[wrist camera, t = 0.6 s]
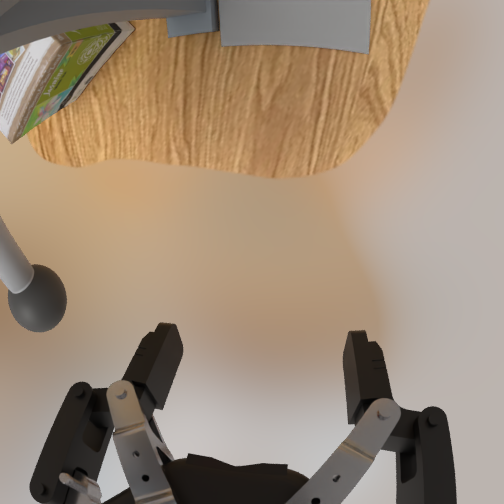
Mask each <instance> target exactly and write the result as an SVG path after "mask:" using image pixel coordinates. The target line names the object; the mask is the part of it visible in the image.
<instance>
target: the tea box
mask: <svg viewBox="0 0 504 504" xmlns="http://www.w3.org/2000/svg"><path fill="white" fill-rule="evenodd" d="M134 30H135V28H134V27H133V26H132V25H131V24H130V23H129V22H128V21H123V22H116V23H109V24H103V25H97V26H92V27H87V28H82V29H77V30H73V31H69V32H65V33H61V34H58V35H54V36H50V37H47V38H44V39H41V40H38V41H34V42H32V43H29V44H26V45H23V46H20V47H18V48H15V49H12V50H10V51H8V52H5V53H3V54H0V131H1V132H2V133H3V134H4V135H5V137H6V138H7V139H8V140H9V141H10V142H11V144H13V143H14V142H15V141H17V140H18V139H19V138H21V137H22V136H24V135H25V134H26V133H27V132H29V131H30V130H31V129H33V128H34V127H35V126H37V125H38V124H40V123H41V122H43V121H44V120H45V119H47V118H48V117H50V116H52V115H53V114H55V113H56V112H58V111H59V110H60V109H62V108H64V107H66V106H67V105H69V104H70V103H72V102H74V101H75V100H76V99H77V98H78V97H79V95H80V94H81V93H82V92H83V90H84V89H85V87H86V86H87V85H88V83H89V82H90V81H91V80H92V78H93V77H94V76H95V74H96V73H97V72H98V70H99V69H100V68H101V67H102V66H103V64H104V63H105V62H106V61H107V60H108V59H109V57H110V56H111V55H112V54H113V52H114V51H115V50H116V49H117V48H118V47H119V46H120V45H121V44H122V43H123V42H124V40H125V39H126V38H127V37H128V36H129V35H130V34H131V33H132V32H133V31H134Z"/></svg>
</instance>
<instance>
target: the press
mask: <svg viewBox="0 0 504 504" xmlns="http://www.w3.org/2000/svg"><path fill="white" fill-rule="evenodd" d="M219 16H220V31H221V46H222V47H223V46H240V45H291V46H308V47H320V48H329V49H338V50H345V51H352V52H358V53H364V54H369V40H370V16H371V0H219ZM155 18H166V19H167V29H168V38H171V37H176V36H183V35H189V34H196V33H204V32H213V31H219V17H218V2H217V0H0V54H3V53H5V52H8V51H10V50H12V49H15V48H18V47H20V46H23V45H26V44H29V43H32V42H34V41H38V40H41V39H44V38H47V37H50V36H54V35H58V34H61V33H65V32H69V31H73V30H77V29H82V28H87V27H92V26H97V25H103V24H109V23H116V22H123V21H131V20H142V19H155ZM0 279H1V280H2V281H3V282H4V284H5V285H6V286H7V288H8V289H9V290H8V302H9V307H10V310H11V312H12V314H13V316H14V318H15V319H16V321H17V322H18V323H19V324H20V325H21V326H23V327H24V328H26V329H28V330H30V331H33V332H45V331H48V330H51V329H52V328H54V327H55V326H56V325H57V324H58V323H59V322H60V321H61V319H62V318H63V316H64V313H65V310H66V304H67V298H66V291H65V288H64V285H63V283H62V281H61V279H60V278H59V277H58V275H57V274H56V273H55V272H54V271H52V270H51V269H50V268H47V267H46V266H43V265H36V264H34V265H31V264H30V263H29V261H28V260H27V258H26V257H25V255H24V254H23V252H22V251H21V249H20V248H19V246H18V245H17V243H16V242H15V240H14V238H13V237H12V235H11V234H10V232H9V230H8V229H7V227H6V225H5V223H4V222H3V220H2V218H1V216H0Z"/></svg>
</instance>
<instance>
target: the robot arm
mask: <svg viewBox="0 0 504 504" xmlns="http://www.w3.org/2000/svg"><path fill="white" fill-rule="evenodd" d="M182 355H183V344H182V341H181V338H180V335H179V332H178V329H177V326H176V325H175V324H171V323H159V324H158V326H157V328H156V330H155V332H149V333H148V334H147V335H146V336H145V337H144V338H143V339H142V341H141V343H140V345H139V346H138V349H137V350H136V352H135V355H134V356H133V358H132V360H131V362H130V364H129V366H128V368H127V370H126V372H125V374H124V376H123V378H122V380H119V381H116V382H114V383H112V384H111V385H110V386H109V388H97V389H96V388H95V389H92V387H91V386H90V385H89V384H88V383H86V382H78V383H76V384H74V385H73V386H72V387H71V388H70V390H69V392H68V393H67V396H66V398H65V400H64V402H63V404H62V406H61V408H60V410H59V412H58V415H57V417H56V419H55V421H54V424H53V426H52V428H51V430H50V433H49V435H48V437H47V440H46V442H45V444H44V447H43V450H42V452H41V455H40V457H39V460H38V463H37V465H36V468H35V471H34V473H33V476H32V479H31V482H30V492H31V495H32V497H33V498H34V499H35V500H36V501H37V502H39V503H41V504H341V502H342V501H343V500H344V499H345V498H346V497H347V496H348V494H349V493H350V492H351V491H352V489H353V488H354V487H355V486H356V484H357V483H358V482H359V480H360V479H361V478H362V477H363V475H364V474H365V473H366V471H367V470H368V469H369V467H370V466H371V464H372V463H373V461H374V459H375V457H376V455H377V453H378V452H379V451H380V449H381V450H387V451H393V452H396V473H397V474H396V479H397V494H396V504H457V499H456V483H455V469H454V461H453V453H452V446H451V438H450V432H449V426H448V421H447V417H446V414H445V412H444V411H443V410H442V409H440V408H438V407H434V406H432V407H427V408H425V409H424V410H423V411H422V412H418V411H412V410H406V409H403V408H401V407H400V406H399V405H398V404H397V403H396V402H395V401H394V399H393V397H392V393H391V388H390V383H389V378H388V373H387V369H386V364H385V361H384V356H383V351H382V349H381V348H380V346H379V345H378V344H377V343H376V341H373V342H368V339H367V334H366V331H365V330H361V331H349V332H348V336H347V340H346V344H345V349H344V352H343V370H344V379H345V390H346V401H347V414H348V424H355V428H354V429H353V430H352V432H351V433H350V434H349V436H348V437H347V438H346V439H345V440H344V441H343V442H342V443H341V444H340V446H339V447H338V448H337V449H336V450H335V451H334V453H333V454H332V455H331V456H330V457H329V458H328V460H327V461H326V462H325V463H324V464H323V465H322V466H321V468H320V469H319V470H318V471H317V472H316V473H315V474H314V475H313V476H312V477H311V478H310V479H309V478H307V477H306V476H304V475H302V474H300V473H299V472H296V471H293V470H290V469H287V466H288V465H287V464H266V463H261V464H254V465H246V466H233V465H230V464H227V463H224V462H222V461H219V460H217V459H214V458H212V457H206V456H200V455H195V454H188V456H187V458H183V459H177V460H174V458H173V456H172V454H171V453H170V451H169V449H168V448H167V446H166V444H165V442H164V440H163V437H162V435H161V433H160V430H159V428H158V425H157V423H156V421H155V418H154V416H153V412H154V409H160V410H163V408H164V405H165V402H166V399H167V396H168V393H169V391H170V388H171V385H172V383H173V380H174V377H175V375H176V372H177V369H178V366H179V364H180V361H181V358H182ZM114 427H115V432H113V429H114ZM112 433H113V440H114V443H115V446H116V449H117V453H118V456H119V459H120V462H121V465H122V467H123V470H124V473H125V476H126V479H127V481H128V484H129V486H130V487H129V488H128V489H126V490H124V491H122V492H121V493H119V494H117V495H116V496H114V497H112V498H111V499H109V500H107V501H105V502H104V503H101V501H100V498H101V496H102V495H101V492H100V487H99V485H98V484H97V478H98V475H99V472H100V469H101V466H102V462H103V459H104V456H105V453H106V450H107V447H108V444H109V441H110V438H111V435H112Z"/></svg>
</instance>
